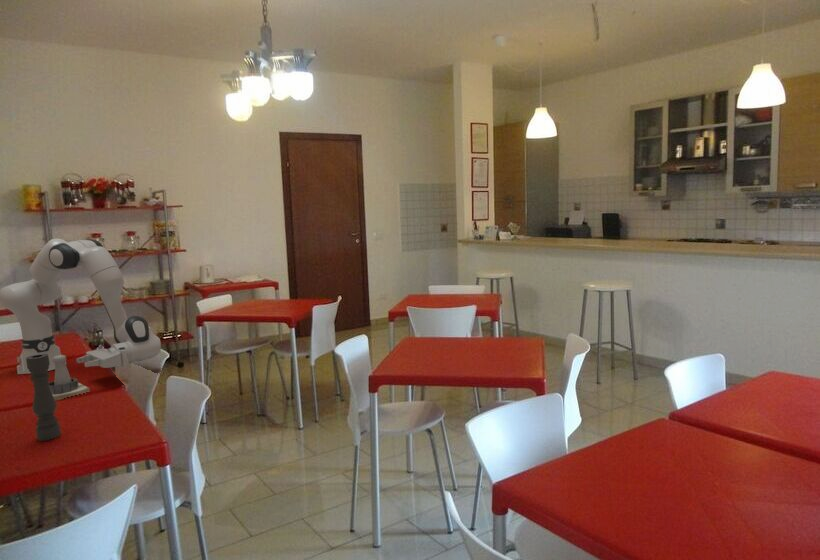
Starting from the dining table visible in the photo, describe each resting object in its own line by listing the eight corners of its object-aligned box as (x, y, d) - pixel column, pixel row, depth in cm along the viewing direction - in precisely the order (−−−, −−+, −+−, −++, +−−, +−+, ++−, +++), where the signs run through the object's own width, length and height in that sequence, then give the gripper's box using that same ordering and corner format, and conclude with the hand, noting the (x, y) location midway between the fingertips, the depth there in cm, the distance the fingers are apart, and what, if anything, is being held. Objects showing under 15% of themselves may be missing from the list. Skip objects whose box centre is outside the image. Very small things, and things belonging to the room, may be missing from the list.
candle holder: (43, 433, 183) (31, 354, 179) (64, 431, 183) (53, 352, 180) (33, 441, 177) (20, 359, 173) (54, 439, 177) (42, 358, 174)
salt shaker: (76, 386, 226) (71, 353, 224) (66, 391, 220) (61, 357, 218) (61, 387, 226) (56, 354, 224) (51, 392, 220) (46, 358, 219)
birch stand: (37, 395, 223) (36, 391, 223) (78, 385, 233) (77, 381, 233) (47, 402, 213) (47, 398, 213) (89, 392, 223) (89, 388, 223)
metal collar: (44, 391, 223) (42, 383, 222) (73, 383, 230) (72, 376, 229) (51, 396, 216) (50, 388, 215) (81, 388, 223) (80, 381, 222)
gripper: (108, 343, 243) (71, 350, 233) (127, 350, 228) (88, 358, 219) (110, 358, 244) (73, 366, 234) (129, 366, 229) (90, 375, 220)
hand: (80, 362), depth 226 cm, fingers open, 8 cm apart
